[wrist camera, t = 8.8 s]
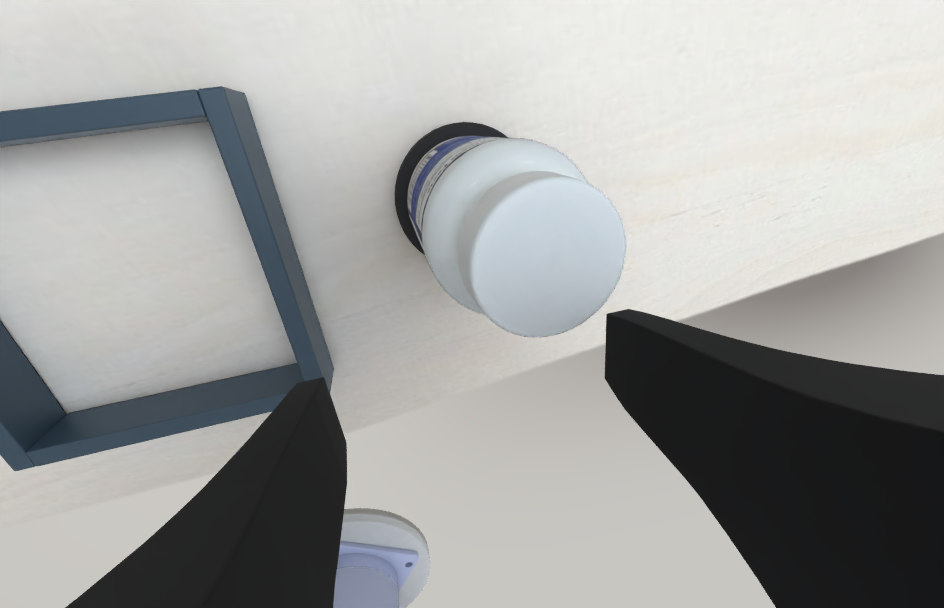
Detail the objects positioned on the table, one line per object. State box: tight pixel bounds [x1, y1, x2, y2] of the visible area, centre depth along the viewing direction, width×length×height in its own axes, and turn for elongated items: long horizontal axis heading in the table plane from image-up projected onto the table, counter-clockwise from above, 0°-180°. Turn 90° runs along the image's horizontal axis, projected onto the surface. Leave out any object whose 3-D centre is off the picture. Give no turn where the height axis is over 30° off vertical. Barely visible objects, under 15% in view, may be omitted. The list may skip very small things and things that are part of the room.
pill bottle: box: [407, 136, 626, 337], centre depth 14 cm, size 5×5×10 cm
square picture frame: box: [0, 87, 334, 471], centre depth 16 cm, size 13×13×2 cm
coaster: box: [395, 122, 508, 255], centre depth 18 cm, size 6×6×1 cm
